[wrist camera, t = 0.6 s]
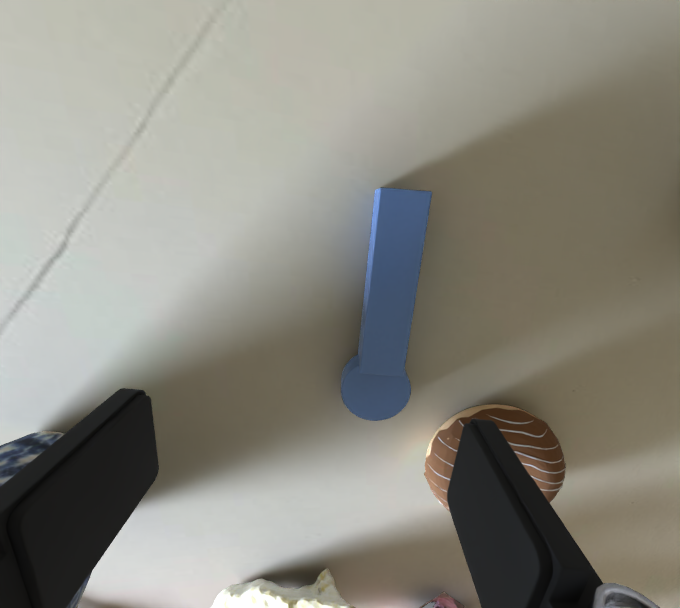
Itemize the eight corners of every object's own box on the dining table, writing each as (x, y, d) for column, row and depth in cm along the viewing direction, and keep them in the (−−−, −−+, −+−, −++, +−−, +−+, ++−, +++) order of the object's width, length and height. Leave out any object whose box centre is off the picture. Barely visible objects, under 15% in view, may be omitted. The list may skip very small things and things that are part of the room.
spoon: (358, 188, 21) (360, 185, 18) (436, 194, 21) (451, 193, 18) (339, 404, 26) (338, 430, 23) (401, 409, 26) (409, 436, 23)
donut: (476, 513, 29) (495, 559, 26) (394, 451, 27) (402, 491, 24) (572, 443, 27) (609, 483, 23) (489, 369, 25) (515, 399, 21)
